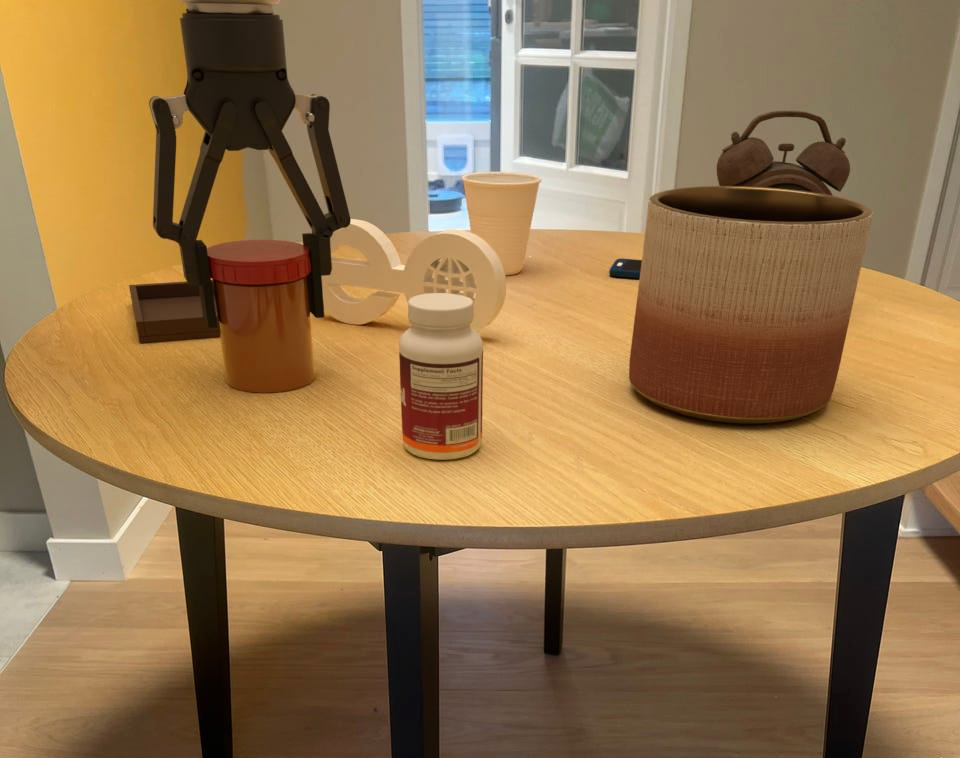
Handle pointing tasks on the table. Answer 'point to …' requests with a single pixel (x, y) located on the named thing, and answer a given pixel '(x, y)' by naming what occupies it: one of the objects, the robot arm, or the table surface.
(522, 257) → the cup
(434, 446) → the pill bottle
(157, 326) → the tray
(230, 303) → the jar
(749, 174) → the alarm clock
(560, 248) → the table surface
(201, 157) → the robot arm
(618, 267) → the cell phone
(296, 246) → the jar lid
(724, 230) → the planter
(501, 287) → the cream logo sign
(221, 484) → the table surface
